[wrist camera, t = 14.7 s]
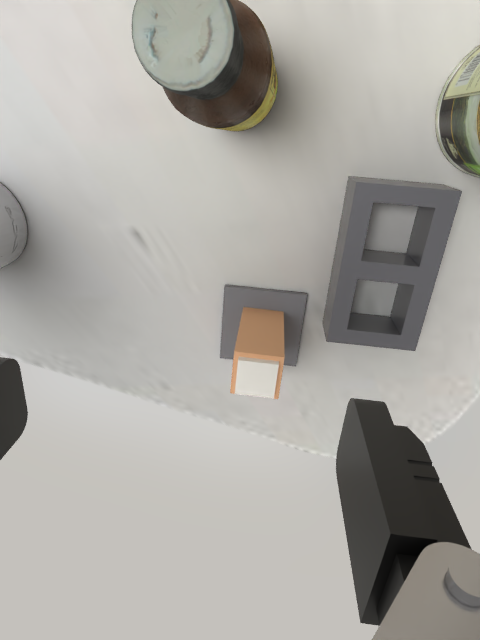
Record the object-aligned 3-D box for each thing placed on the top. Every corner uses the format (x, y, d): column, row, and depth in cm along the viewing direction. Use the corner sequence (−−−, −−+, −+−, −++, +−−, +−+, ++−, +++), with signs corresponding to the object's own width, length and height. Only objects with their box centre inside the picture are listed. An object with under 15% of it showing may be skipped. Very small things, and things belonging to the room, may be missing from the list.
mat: (220, 355, 44) (220, 357, 44) (225, 284, 41) (224, 286, 40) (295, 363, 44) (296, 366, 43) (306, 292, 40) (307, 295, 40)
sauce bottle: (293, 90, 33) (309, 47, 15) (236, 147, 35) (191, 167, 17) (239, 20, 32) (185, -121, 14) (183, 84, 34) (72, 35, 16)
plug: (239, 342, 43) (229, 397, 34) (243, 306, 41) (233, 355, 32) (278, 347, 42) (278, 403, 34) (283, 311, 41) (284, 361, 32)
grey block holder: (322, 322, 42) (326, 341, 38) (348, 176, 36) (356, 181, 32) (403, 331, 41) (415, 351, 38) (443, 184, 35) (462, 191, 32)
